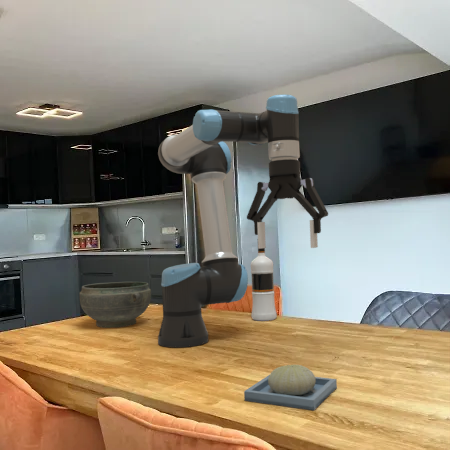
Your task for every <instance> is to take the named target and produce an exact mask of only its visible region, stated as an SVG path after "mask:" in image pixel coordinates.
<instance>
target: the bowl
mask: <svg viewBox="0 0 450 450" xmlns="http://www.w3.org/2000/svg"><path fill="white" fill-rule="evenodd" d="M149 284H150V283H148V282H145V281H144V282H143V281H118V282H115V281H114V282H99V283H91V284H90V283H89V284H85V285H82V286H81V291H79V305H80V308H81V309H82V310H83V312H84V313H85V315H87V316H88V317H89V318H91V319H93V320H95V321H96V322H95V324H96V327H98V328H105V329H107V328H108V329H111V328H124V327H129V326H133V325H136V323H137V318H138V317H140V316H141V315H143V313H145V312H146V310H147V308H148V307H149V306H150V303H151V299H152V289H151V288H150V287H149Z"/></svg>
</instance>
